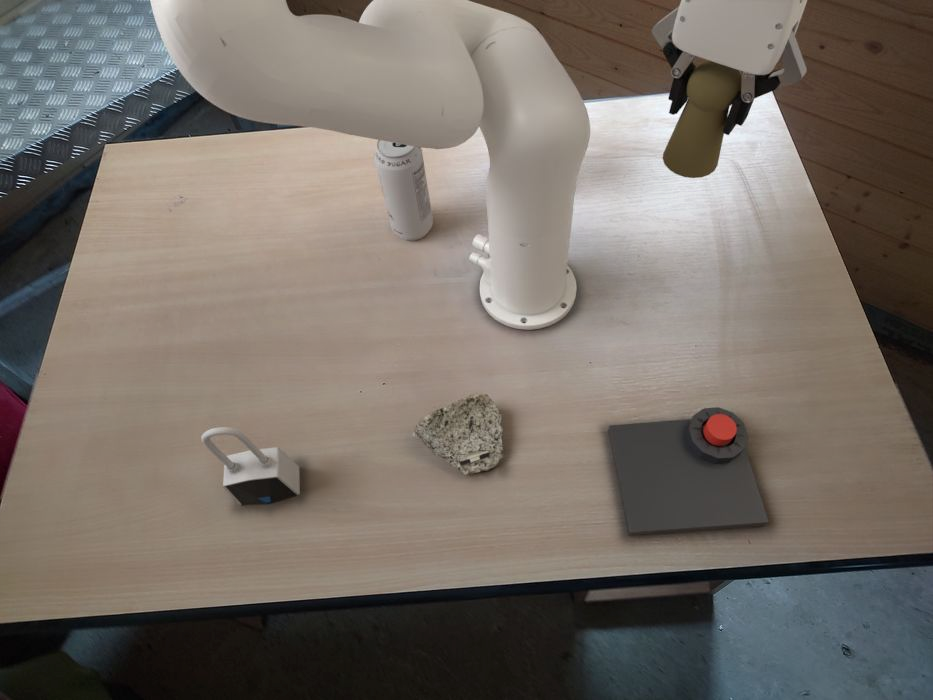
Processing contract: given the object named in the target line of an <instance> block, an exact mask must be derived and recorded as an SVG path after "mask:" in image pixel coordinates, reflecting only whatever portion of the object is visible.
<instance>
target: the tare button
mask: <svg viewBox="0 0 933 700" xmlns="http://www.w3.org/2000/svg"><path fill="white" fill-rule="evenodd" d="M736 432H737V427H736V424H735V422H734V421H733V420H732V419H731V418H730V417H728V416H726V415H723V414H716V415H713V416H711V417H710V418H709V420H708V421H707V423H706V424H705V426H704V428H703V434H704V437H705V439H706V440H707V441H708V442H709V443H711V444H712V445H715V446H725V445H727V444H729V443H730V441H731V440H732V439H733V437H734V436H735V434H736Z"/></svg>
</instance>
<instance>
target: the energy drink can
mask: <svg viewBox="0 0 933 700" xmlns="http://www.w3.org/2000/svg"><path fill="white" fill-rule="evenodd" d="M374 162H375V167H376V170H377V175H378V179H379V182H380V186H381V190H382V195H383V199H384V203H385V207H386V212H387V215H388V219H389V224H390V228H391V231H392V232H393V233H394V235H396V236H397V237H399V238H401V239H402V240H405V241H417V240H420V239H423V238H424V237H425V236H426V235H428V233H429V231H431V229H432V227H433V224H434V219H433V217H434V216H433V211H432V205H431V198H430V194H429V187H428V180H427V174H426V169H425V162H424V155H423V148H421V147H415V146H409V145H404V144H398V143H393V142H388V141H382V140H377V142H376V150H375V152H374Z"/></svg>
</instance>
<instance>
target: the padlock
mask: <svg viewBox="0 0 933 700" xmlns="http://www.w3.org/2000/svg"><path fill="white" fill-rule="evenodd" d="M221 435H223V436H224V435H226V436H232V437H235V438H237V439H238V440H239V441H240V442H241V443H242V444H243V445H244V446H245V447H246V448H247V449H248V450H246V451H245V450H244V451H242V452H241V451H240V452H237V453H233V454H228V455H226V454H225V453H224V452H223V451H222V450H221V449H220V448H219V447H218V446H217V445H216V444H215V443H214V442H213V440H211V438H212V437H215V436H221ZM200 438H201V443H202V444H203V445H204V446H205V447H206V448H207V449H208V450H209V451H210V453H212V454H213V456H215V457H216V458H217V459H218V460H219V461H220V462H221V463H222V464H223V484H222V487H223V488H224V490H226V492H227V493H228V494H229V495H230V496H231V497H232V499H234V500H235V502H236V503H237V504H238V505H239V506H248V505H251V506H252V505H270V504H274V503H277V502H281V501H283V500H287V499H290V498H294V497H296V496H299V495H301V492H300V487H301V486H300V485H301V483H300V466H299V465H298V464H297V463H296V462H295V461H294V460H293V459H292V458H291V457H289V456H288V455H287V454H286V453H285V451H283V450H282V449H281V448H280V447H279V446H278V447H277V446H276V447H268V448H259V447H258V446H257V445H256V444H255V443H254V442H253V441H252V440H251V438H249V437H248V436H247V435H246V434H245V433H244V432H243V431H241V430H240V429H238V428H234V427H231V426H229V427H228V426H219V427H214V428H210V429H207V430H206V431H204V432H203V433H202V435H201V437H200Z"/></svg>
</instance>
